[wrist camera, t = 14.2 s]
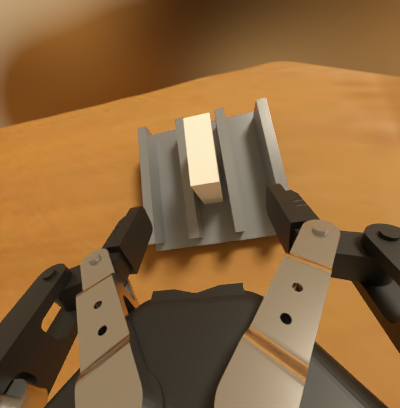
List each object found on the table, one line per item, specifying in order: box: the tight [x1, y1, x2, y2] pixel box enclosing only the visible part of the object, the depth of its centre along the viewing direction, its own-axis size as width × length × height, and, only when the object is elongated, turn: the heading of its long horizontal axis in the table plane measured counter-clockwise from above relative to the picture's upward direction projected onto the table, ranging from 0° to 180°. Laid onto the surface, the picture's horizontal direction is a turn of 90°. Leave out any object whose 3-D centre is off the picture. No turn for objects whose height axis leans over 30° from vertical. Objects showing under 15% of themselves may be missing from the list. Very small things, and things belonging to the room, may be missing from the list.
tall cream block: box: [183, 113, 223, 204], centre depth 21 cm, size 7×3×9 cm, turn 7°
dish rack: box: [138, 98, 289, 252], centre depth 24 cm, size 18×18×5 cm
